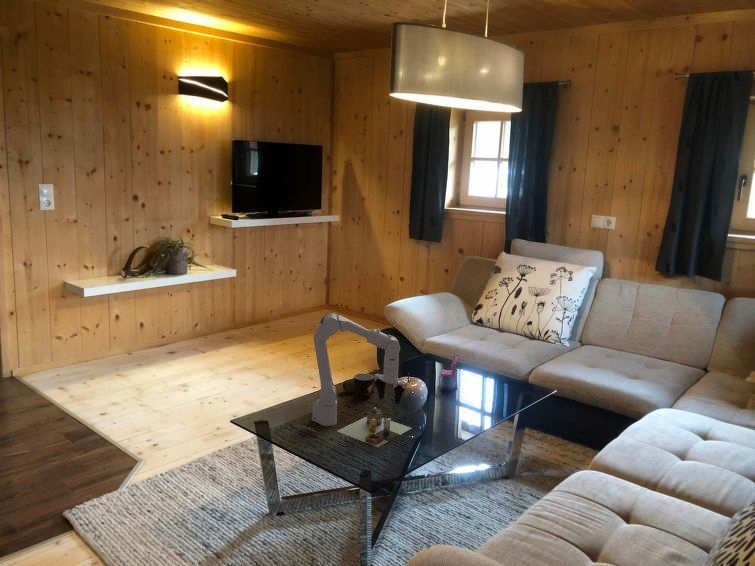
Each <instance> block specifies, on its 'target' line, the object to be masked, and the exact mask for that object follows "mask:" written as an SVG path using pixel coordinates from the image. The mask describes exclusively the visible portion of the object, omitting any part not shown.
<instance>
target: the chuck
mask: <svg viewBox="0 0 755 566" xmlns="http://www.w3.org/2000/svg"><path fill="white" fill-rule="evenodd" d="M366 417H367V424H368V425H369V424H370V419H371V418H375V419H376V426H379V425H381V424H382V418H383V411H382V410H381V409H378V408H377V407H375V406H374V407H373V408H371V409H368V410H367V411H366Z"/></svg>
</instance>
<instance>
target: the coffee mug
mask: <svg viewBox="0 0 755 566" xmlns="http://www.w3.org/2000/svg"><path fill="white" fill-rule="evenodd" d="M353 378H354V384H355V398H356V399H359V400H368V399H370V398H371V395H372V390H373V389H372V384H373V382H374V375H373V374H369V373H364V372H362V373H356V374H354V375H353Z"/></svg>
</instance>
